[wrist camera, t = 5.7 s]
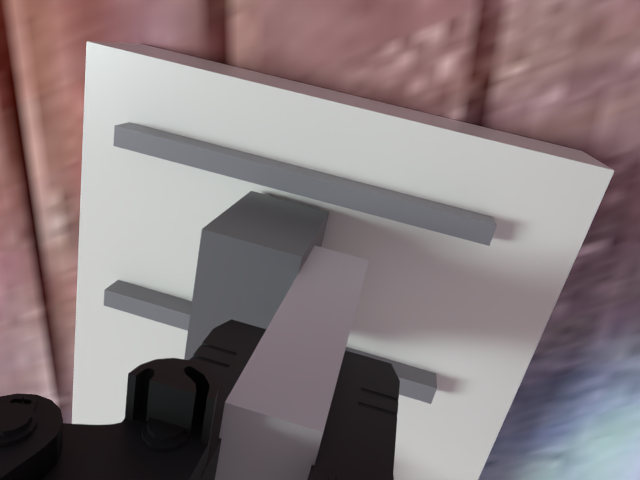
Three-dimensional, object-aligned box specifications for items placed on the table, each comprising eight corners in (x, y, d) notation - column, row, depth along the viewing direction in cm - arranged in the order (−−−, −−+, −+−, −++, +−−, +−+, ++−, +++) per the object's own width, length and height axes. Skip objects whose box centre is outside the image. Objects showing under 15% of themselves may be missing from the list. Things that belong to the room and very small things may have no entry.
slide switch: (251, 190, 15) (201, 229, 12) (329, 211, 15) (302, 256, 11) (231, 307, 16) (182, 370, 13) (302, 327, 16) (271, 397, 13)
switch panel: (140, 43, 18) (38, 39, 13) (581, 150, 16) (645, 189, 11) (101, 556, 27) (34, 658, 22) (375, 653, 26) (364, 784, 21)
